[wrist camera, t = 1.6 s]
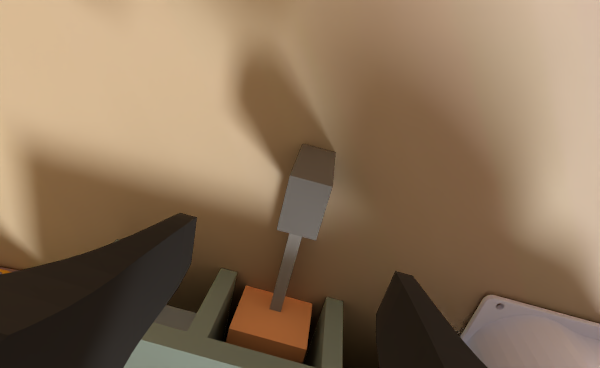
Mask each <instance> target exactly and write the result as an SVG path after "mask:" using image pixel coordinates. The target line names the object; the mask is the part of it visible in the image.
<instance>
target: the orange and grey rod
mask: <svg viewBox="0 0 600 368" xmlns="http://www.w3.org/2000/svg"><path fill="white" fill-rule="evenodd" d="M335 153H336V152H332V151H328V150H324V149H321V148H317V147H313V146H309V145H305V144H302V147H301V149H300V152H299V154H298V156H297V159H296V161H295V164H294V166H293V169H292V171H291V174H290V177H289V181H288V185H287V189H286V194H285V198H284V202H283V206H282V210H281V214H280V218H279V222H278V226H277V230H279V231H282V232H286V233H289V236H288V240H287V244H286V248H285V252H284V255H283V259H282V263H281V267H280V271H279V274H278V278H277V282H276V286H275V290H274V293H272V292H268V291H264V290H261V289H257V288H254V287H250V286H246V287H245V289H244V292H243V294H242V297H241V299H240V302H239V304H238V307H237V309H236V312H235V314H234V317H233V319H232V322H231V324H230V327H229V330H228V335H227V340H226V343H229V344H233V345H236V346H240V347H243V348H247V349H251V350H254V351H258V352H261V353H265V354H269V355H272V356H276V357H279V358H283V359H287V360H290V361H294V362H297V363H301V364H302V362H303V359H304V356H305V353H306V350H307V343H308V335H309V327H310V319H311V311H312V303H308V302H305V301H301V300H297V299H294V298H290V297H286V296H285V295H286V292H287V288H288V284H289V281H290V277H291V274H292V270H293V267H294V263H295V260H296V256H297V253H298V249H299V246H300V242H301V239H302V237H305V238H308V239H312V240H316V239H317V236H318V233H319V229H320V226H321V223H322V220H323V216H324V213H325V210H326V206H327V203H328V200H329V197H330V193H331V190H332V187H333V176H334V164H335Z"/></svg>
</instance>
